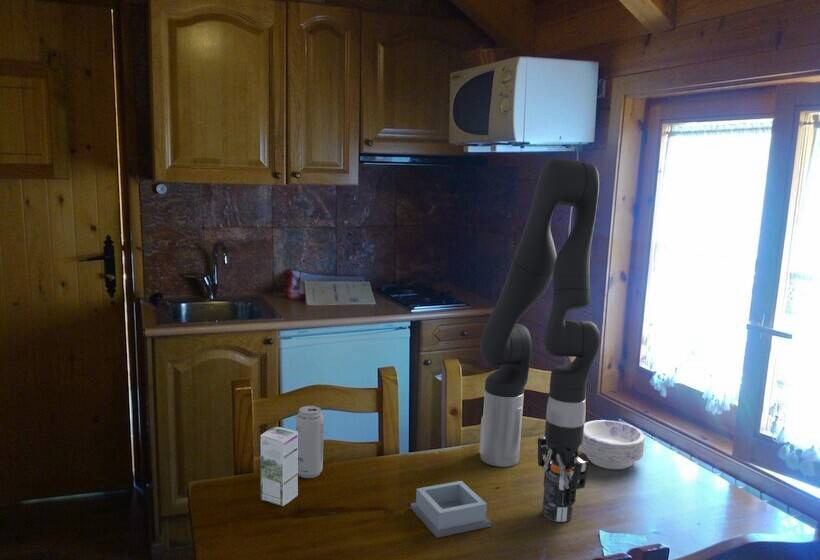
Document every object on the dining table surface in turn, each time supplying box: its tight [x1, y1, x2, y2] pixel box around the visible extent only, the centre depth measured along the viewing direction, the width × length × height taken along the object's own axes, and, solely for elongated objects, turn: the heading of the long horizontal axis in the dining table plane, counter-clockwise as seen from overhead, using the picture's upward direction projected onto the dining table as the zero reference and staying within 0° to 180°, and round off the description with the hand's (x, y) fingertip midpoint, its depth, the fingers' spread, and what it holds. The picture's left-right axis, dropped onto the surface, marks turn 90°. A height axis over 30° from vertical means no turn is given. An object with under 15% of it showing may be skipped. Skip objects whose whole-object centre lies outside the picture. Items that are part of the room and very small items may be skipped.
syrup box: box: [260, 426, 299, 507], centre depth 142 cm, size 6×6×14 cm
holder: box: [410, 480, 492, 538], centre depth 138 cm, size 12×12×4 cm
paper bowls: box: [578, 419, 646, 470], centre depth 167 cm, size 15×15×8 cm
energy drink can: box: [295, 405, 325, 479], centre depth 154 cm, size 6×6×15 cm
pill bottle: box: [541, 462, 574, 523], centre depth 140 cm, size 6×6×11 cm
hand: (558, 496), depth 140 cm, fingers closed on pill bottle, 6 cm apart
